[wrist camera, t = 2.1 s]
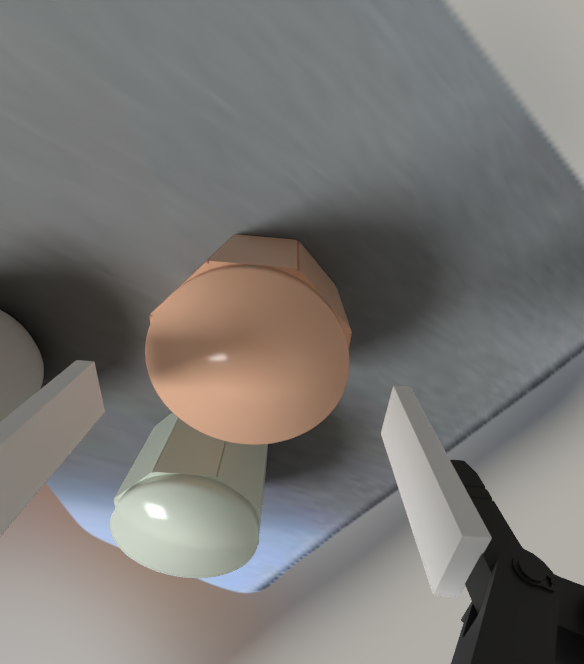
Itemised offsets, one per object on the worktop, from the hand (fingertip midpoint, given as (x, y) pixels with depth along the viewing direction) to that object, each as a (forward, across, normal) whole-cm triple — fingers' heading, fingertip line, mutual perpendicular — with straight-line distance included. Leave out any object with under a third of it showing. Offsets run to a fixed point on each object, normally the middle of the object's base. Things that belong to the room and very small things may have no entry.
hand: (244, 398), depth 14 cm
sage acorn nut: (+10, -4, -14) cm, 17 cm away
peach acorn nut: (+10, 0, 0) cm, 10 cm away
